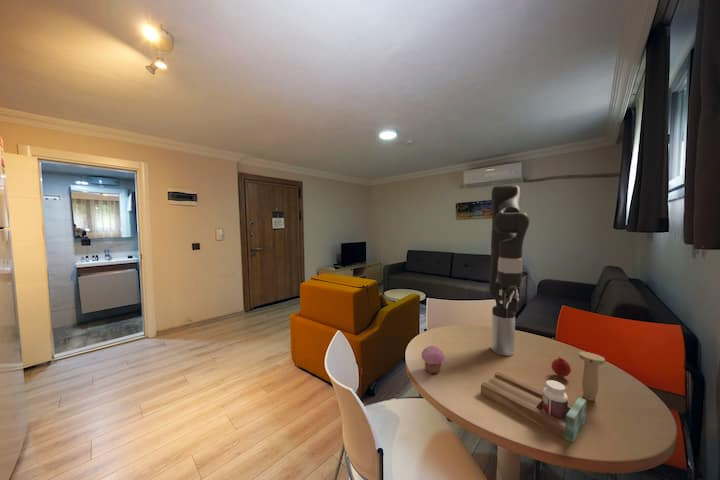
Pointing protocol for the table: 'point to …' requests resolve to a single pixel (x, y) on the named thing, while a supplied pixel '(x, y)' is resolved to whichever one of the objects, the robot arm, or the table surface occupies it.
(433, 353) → the cupcake
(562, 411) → the pill bottle
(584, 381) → the handle
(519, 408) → the channel board
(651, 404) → the table surface
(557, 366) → the onion
